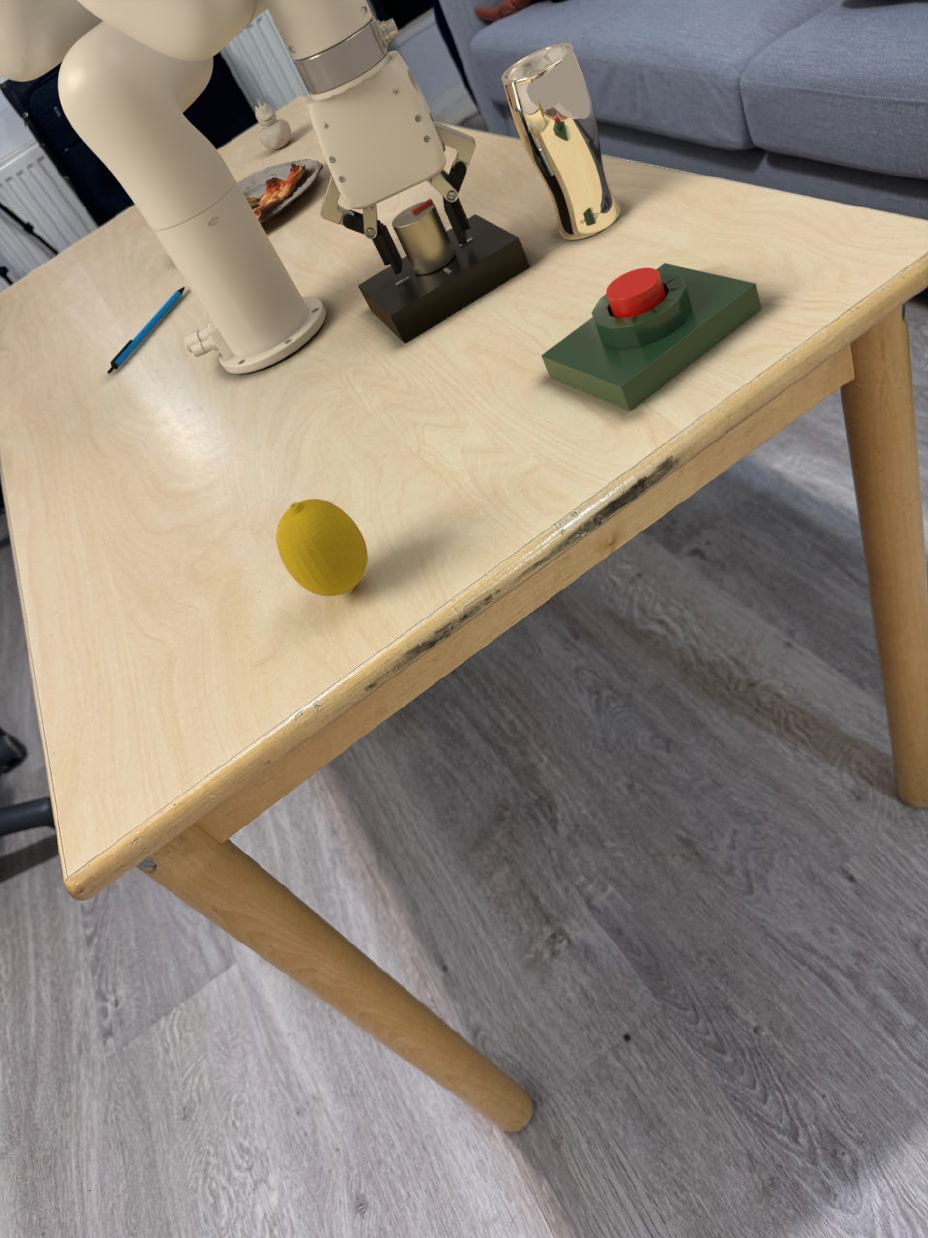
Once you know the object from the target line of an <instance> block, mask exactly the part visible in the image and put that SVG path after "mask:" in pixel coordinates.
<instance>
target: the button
mask: <svg viewBox="0 0 928 1238" xmlns="http://www.w3.org/2000/svg"><path fill="white" fill-rule="evenodd" d="M656 269H657V268H654V267H640V268H635V269H633V270H630V271H627V272H625V273H623V274H621V275H619V276H617V277H616V278H615V279H614V280H612V281H611V282H610V283H609V284H608V285H607V288H606V291H605V294H606V295H607V298H608V301H609V304H610V307H611V310H612V312H613V315H614V316H615V317H616V318H627V317H635V316H638V315H640V314H643V313H645V312H648V311H650V310H652V309H654V308H655V307H656V306H658V305H659V304H660V303H662V302H663V301H664V300H665V297H666V293H665V290H664V287H663V283H662V280H661V277H660V273H659V271H657V270H656Z"/></svg>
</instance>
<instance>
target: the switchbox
mask: <svg viewBox="0 0 928 1238" xmlns="http://www.w3.org/2000/svg"><path fill="white" fill-rule="evenodd" d="M655 269H656V270H657V271H659V273H660V277H661V280H662V283H663V287H664V290H665V293H666V297H665V300H664V301H663V302H662V303H660V304H659V305H658V306H656V307H655V308H654V309H652V310H650V311H648V312H645V313H643V314H640V315H638V316H635V317H627V318H616V317H615V316H614V315H613V312H612V310H611V307H610V304H609V301H608V298H607V295H606V293H605V294H603V296H601V297H600V298H599V299H598V301H597V302H596V304H595V306H594V307H593V308H592V309H593V310H592V311H591V316H592V317H590V318H589V319H588V320H586V321H585V322H584V323H582V324H581V325H580V326H579V327H577V328H576V329H574V330H573V331H572V332H570V333H569V334H568V335H566V336H565V337H563V339H561V340H560V341H558V342H557V343H556V344H554V345H553V346H552V347H550V348H549V349H548V350H547V351H545V352H543V353H542V354H541V359H542V361H543V363H544V366H545V368H546V371H547V373H548V376H549V378H550V379H551V380H553V381H556V382H558V383H561V384H563V385H566V386H568V387H570V388H573V389H575V390H577V391H579V392H582V393H585V394H587V395H590V396H592V397H594V398H597V399H600V400H602V401H604V402H607V403H608V404H611V405H614V406H616V407H619V408H621V409H623V410H626V411H628V412H632V411H633V410H634V409H635V408H636V407H638V406H640V404H642V403H643V402H644V401H645V400H647V399H649V398H650V397H651V396H652V395H653V394H655V393H656V392H657V391H658V390H660V389H661V388H662V387H664V386H665V385H666V384H667V383H669V382H670V381H671V380H672V379H674V378H675V377H677V376H678V375H679V374H681V373H682V372H683V371H684V370H685V369H687V368H688V367H689V366H690V365H692V364H693V363H695V362H696V361H697V360H699V358H701V357H702V356H704V355H705V354H706V353H708V352H709V351H710V350H711V349H712V348H714V347H716V346H717V344H719V343H720V342H721V341H724V339H725V338H726V337H728V336H729V335H730V334H732V333H733V332H734V331H736V330H737V329H738V328H740V327H741V326H743V324H745V323H746V322H747V321H748V320H750V319H751V318H752V317H753V316H755V315H756V314H758V313H759V312H760V311H761V310H762V305H761V300H760V296H759V291H758V287H757V284H756V283H755V282H751V281H747V280H744V279H743V280H742V279H737V278H733V277H730V276H729V277H728V276H724V275H719V274H715V273H712V272H711V273H710V272H708V271H707V272H706V271H702V270H698V269H693V268H688V267H684V266H680V265H675V264H671V263H666V262H664V263H663V264H661V265H660V266H659V267H657V268H655Z"/></svg>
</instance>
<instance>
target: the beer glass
mask: <svg viewBox="0 0 928 1238" xmlns="http://www.w3.org/2000/svg"><path fill="white" fill-rule="evenodd" d="M500 79H501V82H502V85H503V88H504V91H505V95H506V99H507V102H508V106H509V109H510V113H511V116H512V119H513V123H514V126H515V128H516V131H517V134H518V135H519V139H520V140H521V143H522V145H523V147H524V150H525V151H526V153H527V155H528V157H529V158H530V160H531V162H532V164H533V166H534V167H535V169H536V171H537V173H538V175H539V176H540V178H541V180H542V182H543V183H544V185H545V187H546V189H547V191H548V193H549V195H550V198H551V200H552V203H553V207H554V211H555V217H556V224H557V228H558V233H559V235H560V237H561V238H562V239H564V240H568V241H578V240H583V239H587V238H590V237H592V236H595V235H598V234H599V233H601V232H603V231H605V230H606V229H608V228H609V227H610V226H612V225H613V224H614V223H615V222H616V221H617V220H618V219H619V218H620V215H621V211H622V210H621V206H620V204H619V202H618V200H617V199H616V196H615V194H614V193H613V191H612V189H611V187H610V184H609V181H608V179H607V176H606V172H605V168H604V164H603V163H604V162H603V157H602V151H601V150H602V149H601V143H600V135H599V128H598V122H597V115H596V110H595V106H594V104H593V102H594V101H593V99H592V94H591V93H590V89H589V86H588V83H587V80H586V78H585V75H584V72H583V70H582V67H581V65H580V62H579V59H578V57H577V55H576V52H575V49H574V45H573V44H572V43H570V42H561V43H556V44H551V45H549V46H546V47H543V48H540V49H538V50H535V51H534V52H531V53H529V54H528V55H526V56H524V57H522V58H520V59H519V60H518V61H516V62H514V63H513V64H512V65H510V66H509V67H508V68H507V69H506V70H505V71H504V72H503V74H502V75H501V78H500Z"/></svg>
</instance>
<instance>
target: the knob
mask: <svg viewBox="0 0 928 1238" xmlns="http://www.w3.org/2000/svg"><path fill="white" fill-rule="evenodd" d="M391 226H392V229H393V230H394V233H395V235H396V237H397V239H398V241H399V243H400V245H401V248H402V249H403V251H404V254H405V255H406V256H407V258H408V260H409V262H410V264H411V266H412V268H413V271H414V272H415V273H416V274H418V275H424V274H428V273H432V272H434V271H436V270H438V269H440V268H442V267H444V266H445V265H447V264H448V263H449V262H450V261H451V260H452V259H453V258H454V256H455V250H454V247H453V245H452V243H451V241H450V238H449V236H448V234H447V231H448V230H446V227H445V225H444V222H443V220H442V218H441V215H440V213H439V211H438V209H437V207H436V204H435V202H434V201H433V199H432V198H428V199H427V200H424V201H421V202H417V203H415V204H413V205H411V206H409V207H407V208H405V209H403V210H402V211H401V212H400V213H398V214H397V215H396V216H394V218H393V219H392V222H391Z"/></svg>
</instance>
